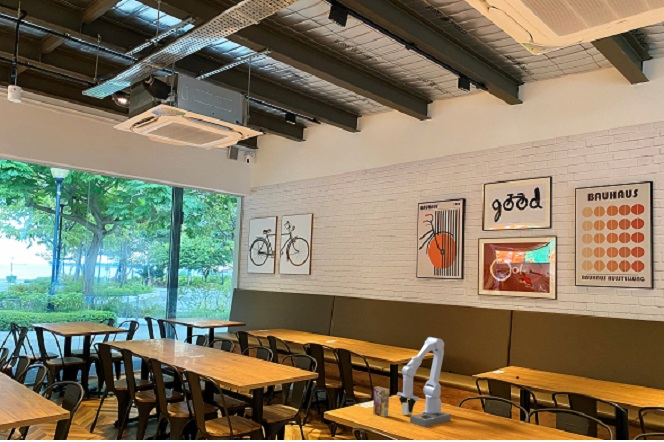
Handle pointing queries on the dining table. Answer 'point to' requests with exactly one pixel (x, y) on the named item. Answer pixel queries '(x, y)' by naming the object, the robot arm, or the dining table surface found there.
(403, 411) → the plug
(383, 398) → the candy box
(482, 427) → the dining table surface
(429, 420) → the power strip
